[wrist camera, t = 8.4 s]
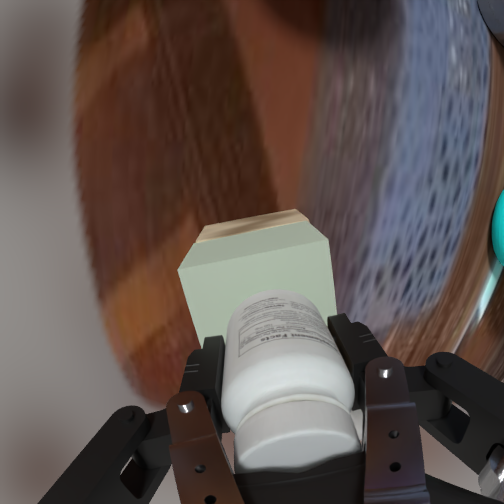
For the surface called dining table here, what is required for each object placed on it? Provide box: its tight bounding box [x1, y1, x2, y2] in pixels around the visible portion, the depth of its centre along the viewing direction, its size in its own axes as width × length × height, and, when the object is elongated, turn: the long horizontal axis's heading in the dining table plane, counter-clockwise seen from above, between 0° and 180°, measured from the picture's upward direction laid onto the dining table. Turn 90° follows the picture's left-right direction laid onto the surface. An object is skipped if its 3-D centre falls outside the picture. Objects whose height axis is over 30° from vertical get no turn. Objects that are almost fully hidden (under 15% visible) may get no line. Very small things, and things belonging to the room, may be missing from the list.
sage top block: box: [178, 221, 337, 348], centre depth 17 cm, size 7×7×5 cm
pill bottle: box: [221, 289, 362, 474], centre depth 10 cm, size 4×4×8 cm
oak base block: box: [196, 209, 309, 243], centre depth 22 cm, size 7×7×5 cm
